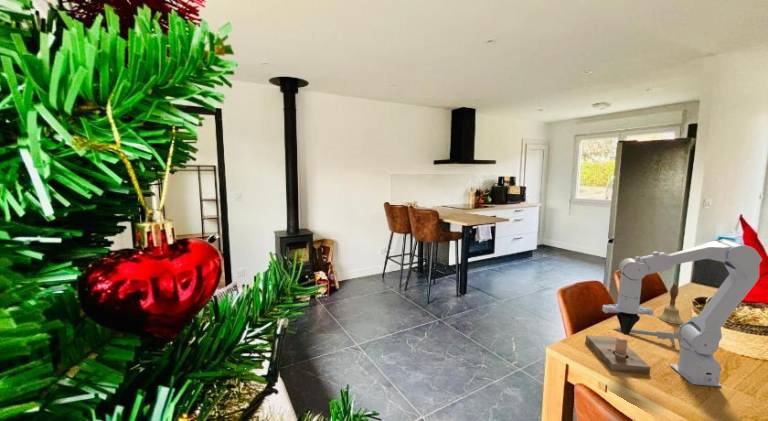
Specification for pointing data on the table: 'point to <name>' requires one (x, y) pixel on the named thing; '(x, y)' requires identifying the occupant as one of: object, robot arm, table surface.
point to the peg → (621, 347)
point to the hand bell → (671, 309)
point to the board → (607, 353)
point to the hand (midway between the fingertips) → (624, 333)
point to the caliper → (658, 334)
